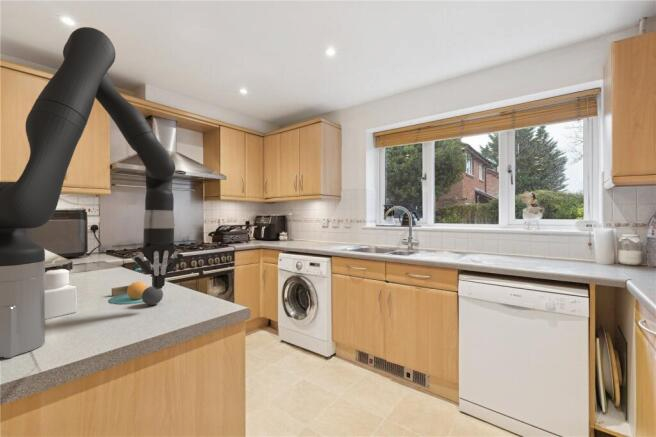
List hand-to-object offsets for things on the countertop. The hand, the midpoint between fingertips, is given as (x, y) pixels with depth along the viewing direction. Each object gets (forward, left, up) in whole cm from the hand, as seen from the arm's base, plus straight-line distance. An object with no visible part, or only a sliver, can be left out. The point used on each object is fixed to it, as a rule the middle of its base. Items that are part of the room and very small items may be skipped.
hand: (158, 288), depth 85 cm
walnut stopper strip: (+20, +17, -6) cm, 27 cm away
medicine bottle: (0, +26, -7) cm, 27 cm away
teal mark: (+14, +12, -6) cm, 20 cm away
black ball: (+6, +4, -4) cm, 8 cm away
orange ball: (+13, +11, -4) cm, 17 cm away
